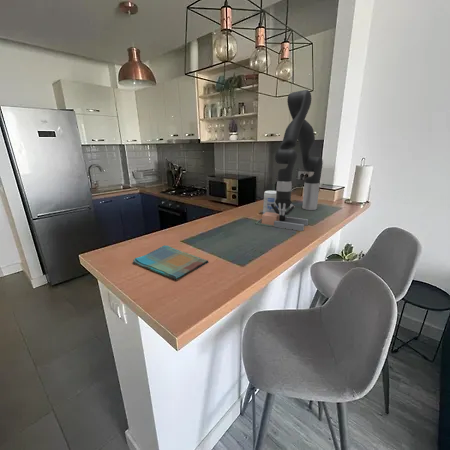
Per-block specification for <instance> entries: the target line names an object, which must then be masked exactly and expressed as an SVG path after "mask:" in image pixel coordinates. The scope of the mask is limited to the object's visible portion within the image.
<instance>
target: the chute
mask: <svg viewBox="0 0 450 450" xmlns="http://www.w3.org/2000/svg"><path fill="white" fill-rule="evenodd" d="M308 225H309V219H307V218H301V217H300V218H299V217H294V216H293V217H292V216H287V215H285V221H284V222H282V221H274V225H273V227H274V228H280V229H285V228H286V230H292V229H293V231H294V230H295V231H300V232H304V230H305V226H308Z"/></svg>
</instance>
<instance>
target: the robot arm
mask: <svg viewBox="0 0 450 450" xmlns="http://www.w3.org/2000/svg"><path fill="white" fill-rule="evenodd" d="M286 100H287V107H288V110H289V113H290V116H291V119H292V120H291V121H290V123H289V124H288V125H287V127H286V129H285V131H284V135H283V137H282V138H283V139H282V140H281V143H280V144H279V147H278V148H277V149H276V152H275V155H274V161H275V163H276V164H278V165H287V166H286V167H285V168H280V169H279V170H278V172H277V182H276V190H275V191H276V200H275V203H273V204H271V206H272V208H273V209H274V211H275V212H276V214H279V221H282V222H284V221H285V216H288V215H289V214H290V213H291V212H292V211H293V210H294V209H295V207H296V205H294V204H293V203H292V190H293V189H292V186H293V185H292V182H293V181H292V179H293V171H294V169H295V168H294V167H295V164H296V162H297V158H298V153H297V151H296V149H294V148H295V147H296V145H297V143H298V144H299V145H298V146H299V150H300V153H301V161H302V166H303V170H304V171H305V172H308V173H313V174H312V175H310V176H307V177H305V178H304V183H303V185H304V186H303V197H302V207H301V208H302V209H303V210H307V211H316V210H317V209H318V203H319V193H320V182H321V177H322V171H323V163H324V162H323V161H324V160H323V158H322V157H320V156H311V155H310V152H311V149H312V147H313V145H314V144H315V141H316V137H315V132H314V129H313V126H312V125H311V124H310V123H309V122H308V121H307V120H306V118H307V115H308V113H309V110H310V108H311V105H312V93H311V91H310V90H309V89H304V90H298V91H297V90H296V91H294V92H293V91H292V92H290V93H289V94H288V96H287V99H286ZM291 148H292V149H291ZM276 205H277V206H278V208H279V210H278V208H277V207H276ZM288 208H289V209H288ZM287 209H288V210H287Z"/></svg>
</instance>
